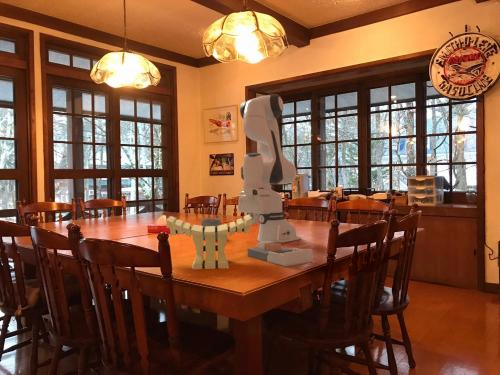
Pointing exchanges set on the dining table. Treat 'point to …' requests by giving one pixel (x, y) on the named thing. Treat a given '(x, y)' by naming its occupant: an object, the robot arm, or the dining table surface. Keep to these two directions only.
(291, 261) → the box
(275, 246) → the tile terracotta
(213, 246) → the slatted curved stool
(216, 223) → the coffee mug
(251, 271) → the dining table surface
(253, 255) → the board
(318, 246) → the dining table surface
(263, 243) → the tile cream
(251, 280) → the dining table surface
